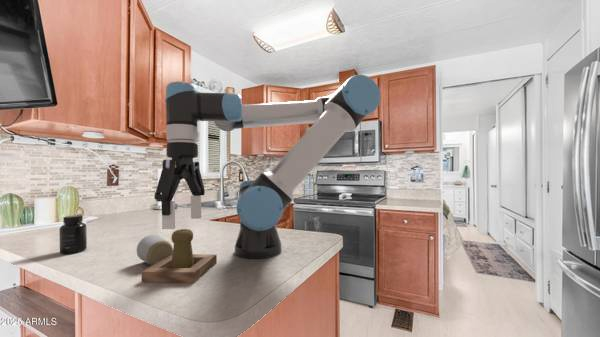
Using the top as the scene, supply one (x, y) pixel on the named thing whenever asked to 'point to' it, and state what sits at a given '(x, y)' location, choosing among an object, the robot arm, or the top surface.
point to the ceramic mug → (154, 249)
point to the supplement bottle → (73, 235)
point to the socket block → (179, 270)
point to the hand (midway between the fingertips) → (183, 223)
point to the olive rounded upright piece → (182, 249)
